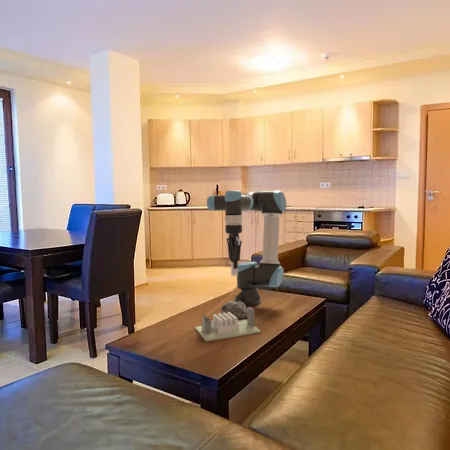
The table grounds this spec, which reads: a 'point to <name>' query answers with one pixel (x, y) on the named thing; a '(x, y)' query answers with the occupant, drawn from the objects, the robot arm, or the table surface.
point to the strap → (223, 303)
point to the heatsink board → (231, 334)
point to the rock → (235, 309)
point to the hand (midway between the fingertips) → (234, 275)
